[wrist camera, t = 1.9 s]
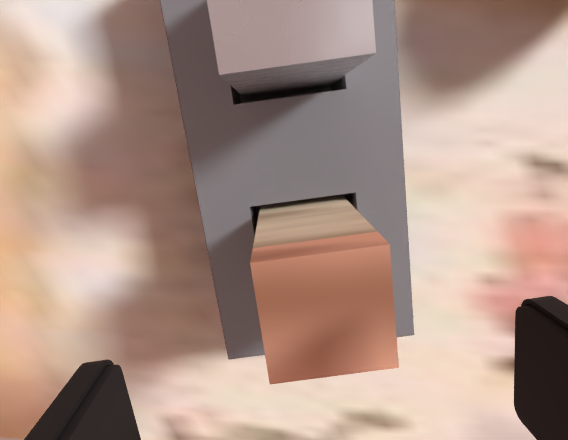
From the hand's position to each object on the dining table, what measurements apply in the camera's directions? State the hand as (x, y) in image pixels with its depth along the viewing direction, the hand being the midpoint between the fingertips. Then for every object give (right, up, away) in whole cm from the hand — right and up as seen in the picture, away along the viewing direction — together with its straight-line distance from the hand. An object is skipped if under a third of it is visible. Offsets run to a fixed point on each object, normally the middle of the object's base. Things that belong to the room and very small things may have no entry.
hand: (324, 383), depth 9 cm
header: (-1, +8, +14) cm, 16 cm away
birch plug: (0, +3, +15) cm, 15 cm away
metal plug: (-1, +13, +12) cm, 18 cm away
